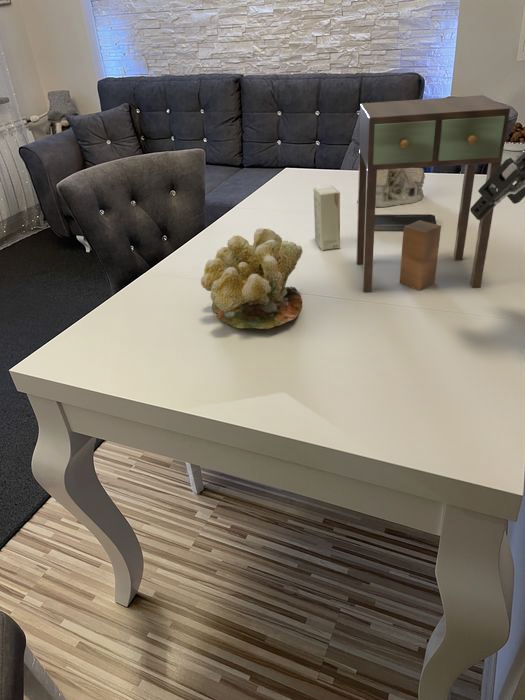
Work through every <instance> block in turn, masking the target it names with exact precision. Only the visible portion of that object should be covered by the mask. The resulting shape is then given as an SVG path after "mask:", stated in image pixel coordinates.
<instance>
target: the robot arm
mask: <svg viewBox="0 0 525 700" xmlns="http://www.w3.org/2000/svg"><path fill="white" fill-rule="evenodd" d="M514 183H515V184H514ZM495 187H496V188H497V191H496V190H495V189H494V188H495ZM477 192H478V193H479V194H480V195H481V196H480V197H479V198H478V199H477V201H475V203H474V204H473V205H471V206H470V211H469V212H470V213H471V215H472V216H474V217H475V219H476V220H478V221H480V220H481V219H483V218H484V217H485V216H486V215H487V214H488V213H489V212H490V211H491V210H492V209H493V208H494V209H495V207H496V206H497V205H499V204H500V203H501V202H502V201H503V200H504V199H505V198H506V197H507V198H508V199H509V200H510V201H511V203H512V204H514V205H516V204H518V203H520V202H521V201H522V200H523V199H524V198H525V149H523V150H522V151H521V152H520V153H517V155H516V156H515V157H514V160H513V158H512V157H509V158H507V159H505V160H504V161H503V163H501V166H500V167H499V168H498V169H497V171H496V172H495V173H494V174H493V175H492V176H491V177H490V178H489V179H488V180H487V182H486V181H485V183H483V184H482V186H481V187H479V189H478V190H477ZM494 209H493V210H494Z"/></svg>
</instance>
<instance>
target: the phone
mask: <svg viewBox="0 0 525 700" xmlns="http://www.w3.org/2000/svg"><path fill="white" fill-rule="evenodd" d="M419 220H421V221H425V222H429V223H433V224H437V219H436V215H435V214H430V213H429V214H425V213H424V214H422V213H421V214H419V213H418V214H411V213H410V214H375V226H374V231H403V229H404V227H405V226H407V225H409V224H412V223H414V222H416V221H419Z"/></svg>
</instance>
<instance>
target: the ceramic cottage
mask: <svg viewBox="0 0 525 700" xmlns="http://www.w3.org/2000/svg"><path fill="white" fill-rule="evenodd" d="M425 179H426V175H425V169H424V167H418V168H400V169H383V170H377V181H376V204H375V208H388V207H393V206H399V205H403V204H404V205H405V204H411V203H417V202H420V201H421V200H422V198H424V190H423V189H422V188H423V187H424V184H425ZM356 203H357V204H358V200H357V202H356Z"/></svg>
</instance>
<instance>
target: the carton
mask: <svg viewBox="0 0 525 700" xmlns="http://www.w3.org/2000/svg"><path fill="white" fill-rule="evenodd" d="M441 231H442V225H440V224H437V223H436V224H433V223H429V222H425V221H421V220H419V221H416V222H414V223H412V224H409V225H407V226H405V227H404V229H403V230H402V245H401V257H400V269H399V270H400V272H399V284H400V285H404V286H405V287H408V288H412V289H415V290H418V291H422V290H423V289H425V288H427V287H429V286H431V285H432V284H434V283H436V275H437V267H438V256H439V249H440V248H439V247H440V240H441V239H440V238H441Z"/></svg>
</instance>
